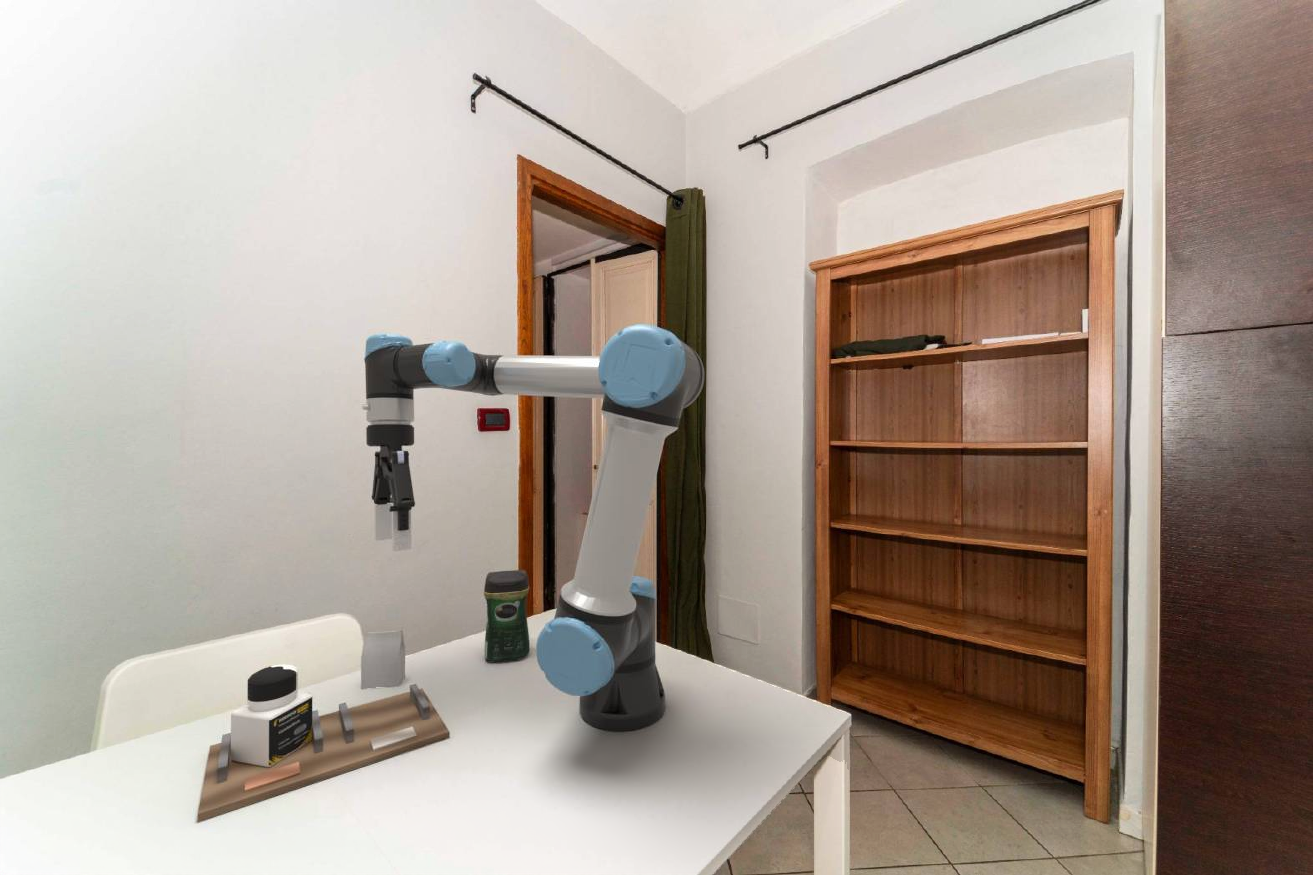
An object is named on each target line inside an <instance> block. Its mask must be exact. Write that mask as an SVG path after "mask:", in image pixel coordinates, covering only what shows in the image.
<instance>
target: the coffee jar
mask: <svg viewBox="0 0 1313 875" xmlns="http://www.w3.org/2000/svg"><path fill="white" fill-rule="evenodd" d="M484 582H485V583H484V589H483V596H484V599H485V601H486V626H485V634H484V635H485V638H484V650H483V651H484V653H483V654H484V659H485V660H486V661H488V662H489V663H490V662H491V663H501V662H511V661H516V660H521V659H524V658H525V657H527V656H528V655H529V654H530V648H531V647H530V634H529V626H528V624H529V623H528V616H527V615H528V613H527V598H528V595H529V591H530V584H529V579H528V574H527V571H526V570H525V569H517V570H516V569H515V570H513V569H512V570H501V571H490V572H488V573H487V575H486V577H485V581H484Z"/></svg>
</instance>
